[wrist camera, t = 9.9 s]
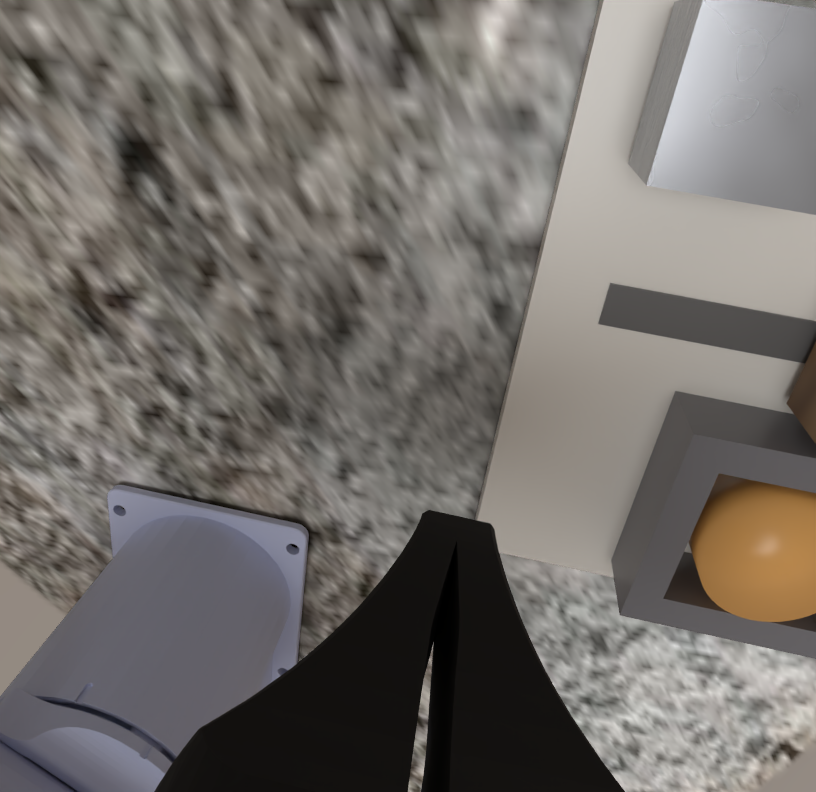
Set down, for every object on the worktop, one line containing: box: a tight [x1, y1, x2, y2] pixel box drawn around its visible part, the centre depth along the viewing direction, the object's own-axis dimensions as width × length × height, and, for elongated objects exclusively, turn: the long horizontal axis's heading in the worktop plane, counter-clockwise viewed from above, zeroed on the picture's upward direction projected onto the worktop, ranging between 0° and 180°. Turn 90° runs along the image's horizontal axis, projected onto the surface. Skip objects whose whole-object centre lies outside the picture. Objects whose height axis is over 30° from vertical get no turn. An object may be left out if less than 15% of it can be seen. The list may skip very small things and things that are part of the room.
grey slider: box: [628, 0, 816, 215], centre depth 14 cm, size 4×4×3 cm
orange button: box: [688, 473, 816, 622], centre depth 19 cm, size 4×4×2 cm
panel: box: [475, 0, 816, 659], centre depth 18 cm, size 17×12×4 cm
